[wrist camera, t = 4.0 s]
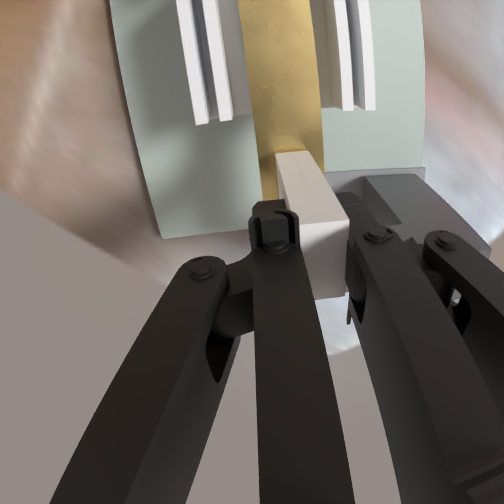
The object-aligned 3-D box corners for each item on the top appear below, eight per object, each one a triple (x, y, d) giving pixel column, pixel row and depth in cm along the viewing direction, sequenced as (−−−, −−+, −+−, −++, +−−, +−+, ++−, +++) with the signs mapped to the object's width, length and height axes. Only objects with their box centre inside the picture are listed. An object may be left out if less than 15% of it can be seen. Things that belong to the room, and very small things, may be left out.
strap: (214, -83, 9) (211, -95, 7) (298, -89, 8) (302, -100, 7) (259, 254, 18) (260, 268, 17) (330, 246, 18) (336, 260, 17)
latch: (314, 179, 21) (355, 268, 13) (415, 173, 20) (491, 249, 13) (315, 219, 23) (349, 318, 15) (411, 211, 22) (475, 294, 14)
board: (109, -48, 12) (45, -82, 5) (404, -67, 11) (471, -99, 4) (164, 232, 25) (136, 309, 18) (413, 206, 24) (466, 271, 17)
